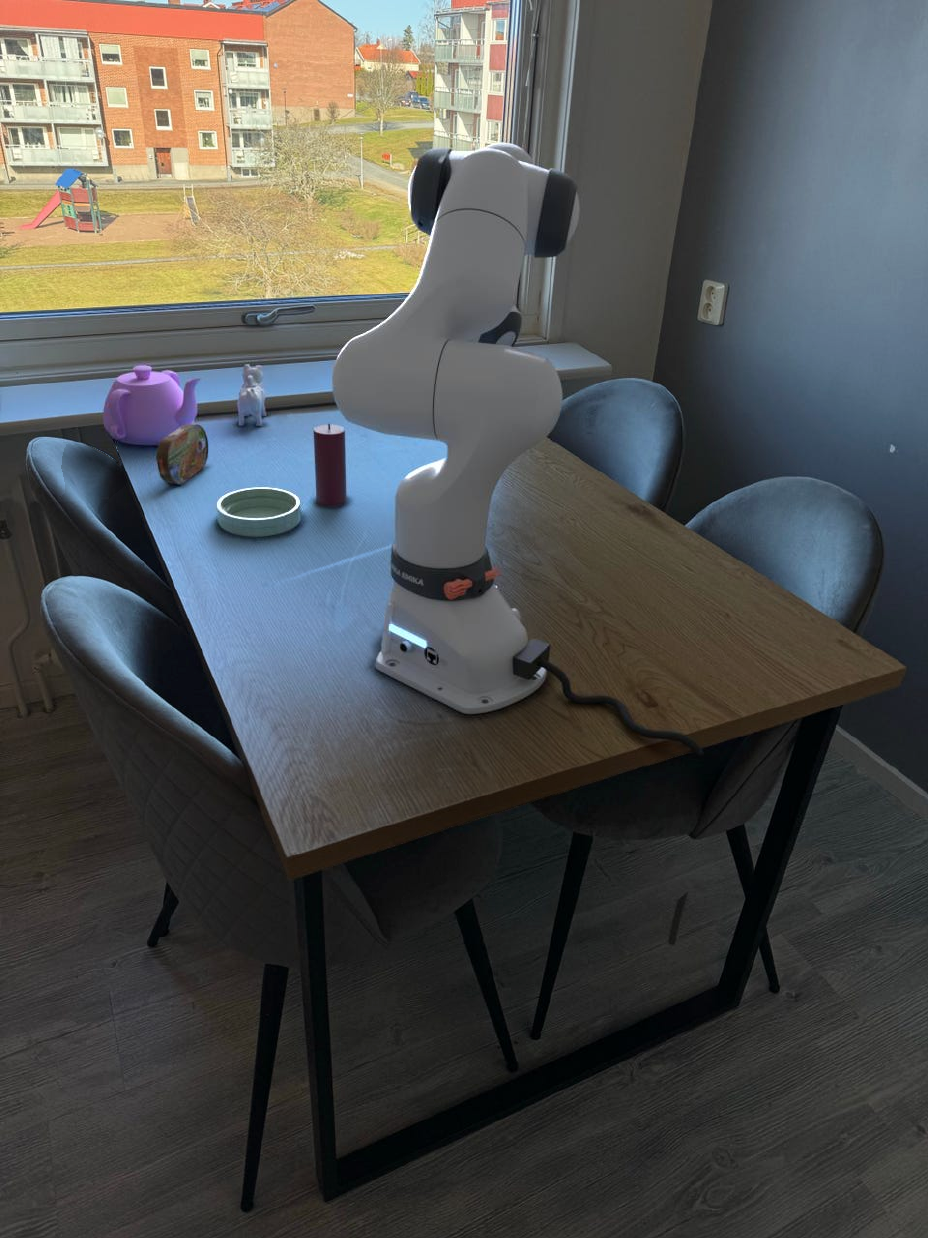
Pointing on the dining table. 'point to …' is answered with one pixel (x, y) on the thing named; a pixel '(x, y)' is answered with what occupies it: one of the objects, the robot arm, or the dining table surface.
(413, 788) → the dining table surface
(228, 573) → the dining table surface
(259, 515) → the bowl
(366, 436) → the dining table surface
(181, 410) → the teapot
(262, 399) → the dog figurine
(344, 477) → the candle
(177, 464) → the tin
